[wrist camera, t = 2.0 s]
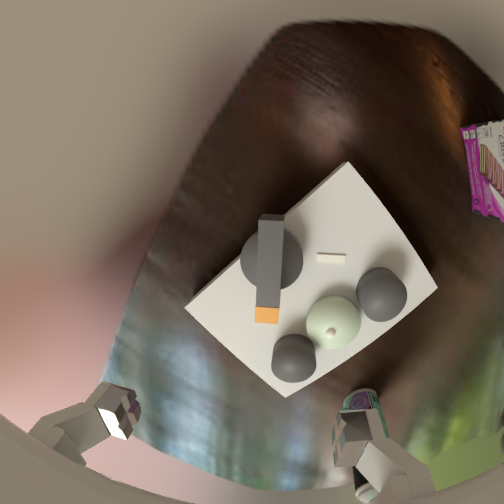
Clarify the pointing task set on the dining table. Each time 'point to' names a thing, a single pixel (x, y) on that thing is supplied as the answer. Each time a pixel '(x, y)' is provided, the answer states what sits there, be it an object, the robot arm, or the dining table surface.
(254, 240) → the wing knob
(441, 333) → the dining table surface
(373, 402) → the spray can
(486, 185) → the candy bar box
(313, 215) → the base
